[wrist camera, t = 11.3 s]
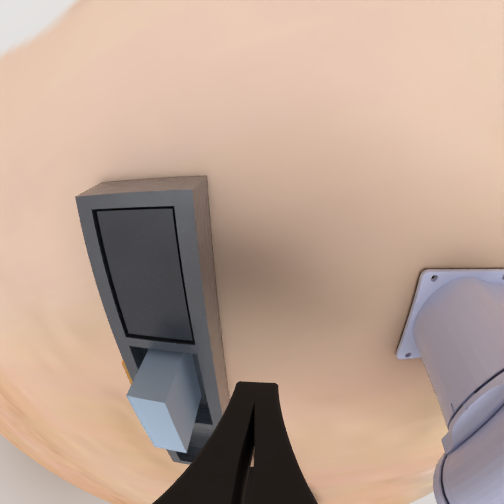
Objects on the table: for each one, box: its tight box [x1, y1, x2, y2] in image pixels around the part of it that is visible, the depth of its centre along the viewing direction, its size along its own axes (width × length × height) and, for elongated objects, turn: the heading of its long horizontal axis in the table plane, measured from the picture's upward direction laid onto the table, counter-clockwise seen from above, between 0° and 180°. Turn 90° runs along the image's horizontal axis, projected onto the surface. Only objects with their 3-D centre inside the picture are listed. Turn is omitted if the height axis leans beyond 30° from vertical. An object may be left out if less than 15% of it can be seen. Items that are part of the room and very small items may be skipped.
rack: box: [76, 176, 230, 464], centre depth 22 cm, size 8×30×3 cm, turn 1°
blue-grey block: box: [126, 349, 202, 453], centre depth 20 cm, size 3×7×6 cm, turn 1°
